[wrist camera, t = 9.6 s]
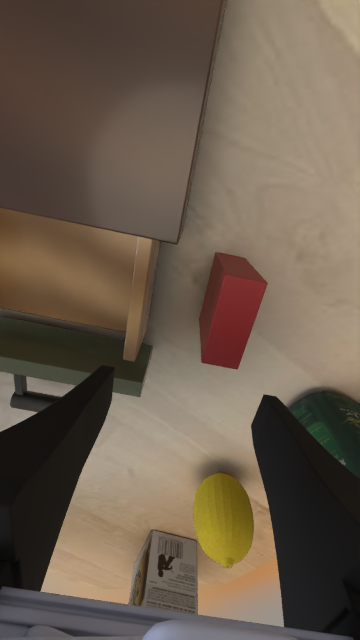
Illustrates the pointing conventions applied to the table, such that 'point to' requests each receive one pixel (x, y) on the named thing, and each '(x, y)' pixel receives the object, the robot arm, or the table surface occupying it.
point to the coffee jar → (332, 425)
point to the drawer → (73, 303)
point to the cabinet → (105, 109)
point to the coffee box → (166, 574)
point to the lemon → (223, 519)
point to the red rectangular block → (229, 310)
